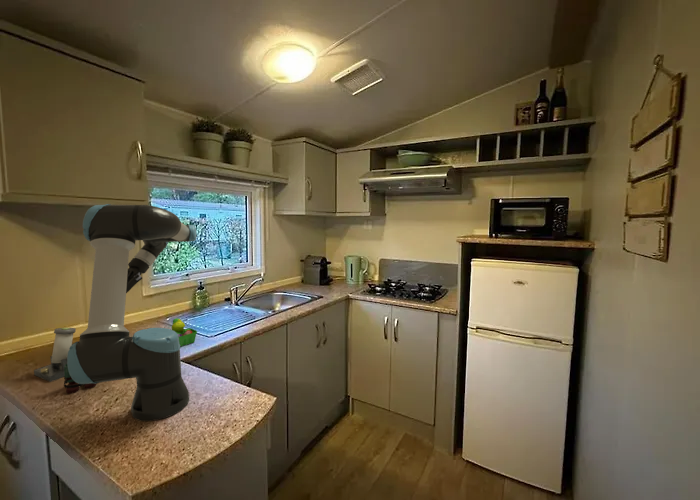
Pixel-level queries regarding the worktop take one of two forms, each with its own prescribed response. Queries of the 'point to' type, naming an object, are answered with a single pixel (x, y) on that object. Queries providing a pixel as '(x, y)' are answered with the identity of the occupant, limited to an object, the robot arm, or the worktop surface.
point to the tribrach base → (51, 371)
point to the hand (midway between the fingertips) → (104, 308)
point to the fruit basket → (183, 332)
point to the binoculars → (73, 383)
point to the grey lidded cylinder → (62, 343)
